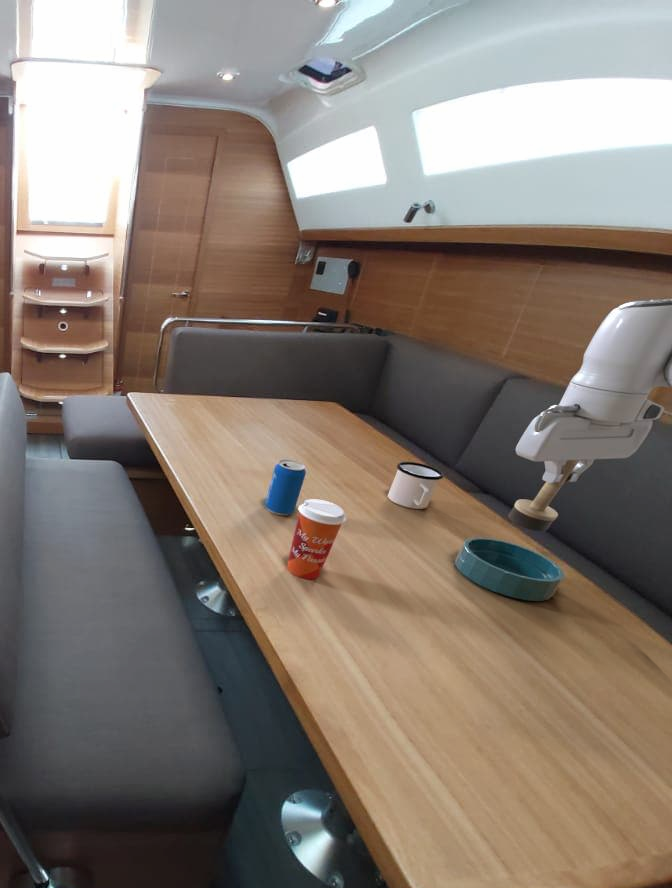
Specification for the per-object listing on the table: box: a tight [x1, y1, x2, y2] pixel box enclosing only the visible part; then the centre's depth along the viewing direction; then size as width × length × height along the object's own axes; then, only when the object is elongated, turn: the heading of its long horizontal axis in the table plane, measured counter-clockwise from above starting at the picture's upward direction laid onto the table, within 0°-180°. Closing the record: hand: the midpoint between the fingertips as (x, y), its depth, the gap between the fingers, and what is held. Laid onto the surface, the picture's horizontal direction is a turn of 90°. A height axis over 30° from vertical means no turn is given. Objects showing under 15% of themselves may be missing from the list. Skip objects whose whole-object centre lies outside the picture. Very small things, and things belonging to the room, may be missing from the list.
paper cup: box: [286, 498, 347, 580], centre depth 93 cm, size 8×8×14 cm
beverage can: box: [264, 459, 307, 516], centre depth 116 cm, size 6×6×12 cm
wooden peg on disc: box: [507, 460, 580, 532], centre depth 88 cm, size 6×6×14 cm
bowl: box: [454, 536, 565, 602], centre depth 95 cm, size 14×14×5 cm
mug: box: [387, 461, 445, 510], centre depth 122 cm, size 12×10×9 cm
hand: (558, 481), depth 86 cm, fingers closed on wooden peg on disc
